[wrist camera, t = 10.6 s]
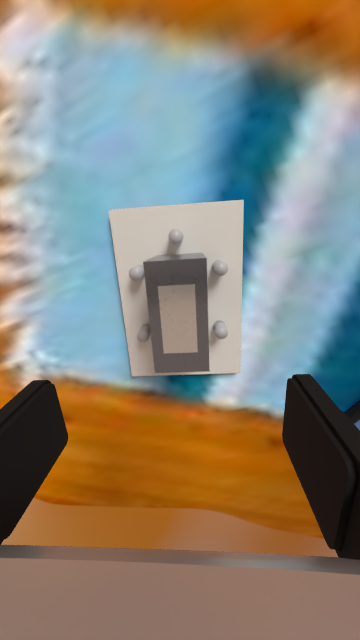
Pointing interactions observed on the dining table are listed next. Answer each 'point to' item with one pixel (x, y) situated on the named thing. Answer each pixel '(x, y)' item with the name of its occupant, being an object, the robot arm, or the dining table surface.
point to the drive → (178, 312)
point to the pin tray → (181, 238)
